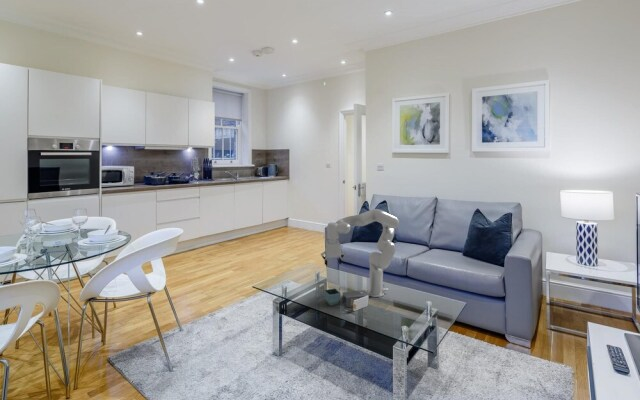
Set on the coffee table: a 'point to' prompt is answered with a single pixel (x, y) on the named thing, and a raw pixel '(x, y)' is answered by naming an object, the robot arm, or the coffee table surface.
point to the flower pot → (332, 296)
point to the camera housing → (352, 297)
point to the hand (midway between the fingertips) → (333, 264)
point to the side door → (360, 303)
